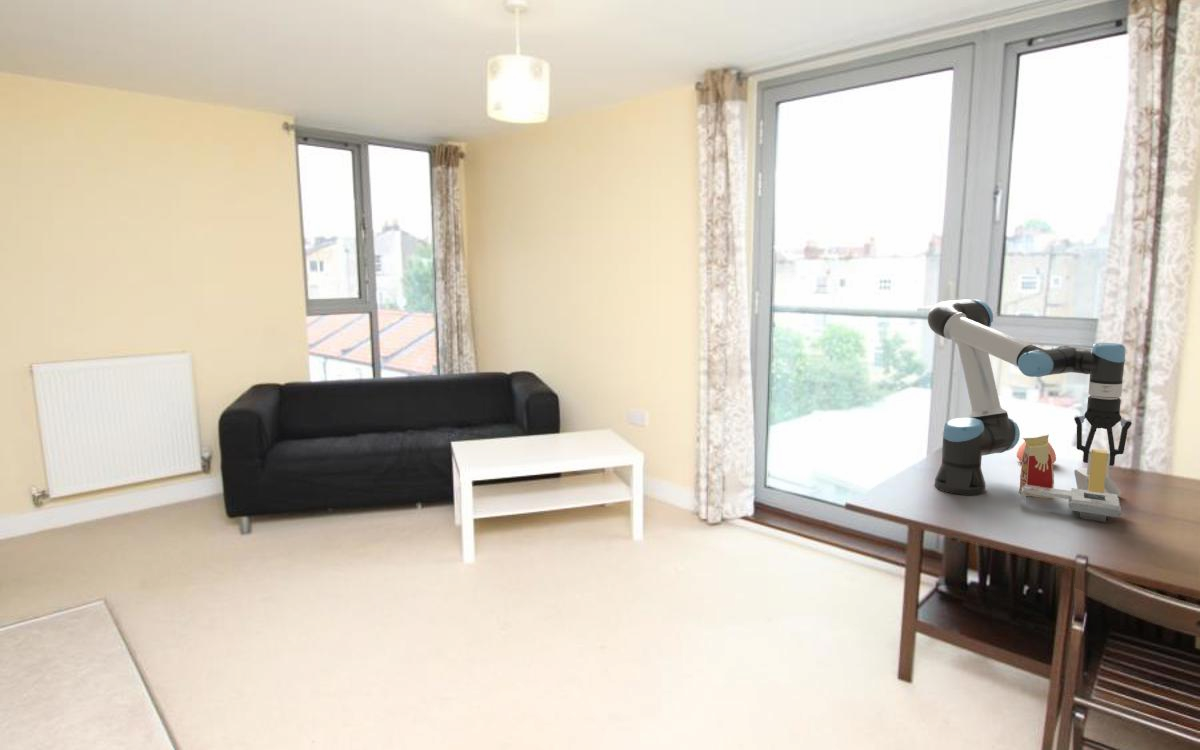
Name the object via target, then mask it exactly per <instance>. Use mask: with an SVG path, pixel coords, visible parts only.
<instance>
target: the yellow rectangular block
mask: <svg viewBox="0 0 1200 750" xmlns="http://www.w3.org/2000/svg"><path fill="white" fill-rule="evenodd" d="M1091 451H1092V458H1091V469H1090V475H1089V487H1088V490H1089V491H1091V492H1098V493H1105V488H1104V483H1105V472H1106V462H1107V453H1108V451H1107V450H1106V449H1105V450H1104V449H1095V448H1092V449H1091Z"/></svg>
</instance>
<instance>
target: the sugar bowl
mask: <svg viewBox="0 0 1200 750" xmlns="http://www.w3.org/2000/svg"><path fill="white" fill-rule="evenodd" d="M1025 446H1026V442H1025V441H1023V442H1022V444H1021V445H1020V446H1019V447H1018V449H1017V452H1016V458H1017V459H1018V461H1019V462H1021V463H1022V459H1023V455H1024V450H1025ZM1048 446H1049V450H1050V453H1051V457H1052V461H1053V464H1054V463H1055V462H1056V461H1057V455H1056V452H1055V449H1054V448H1053V446H1052V445H1051V443H1050V442H1049V441H1048Z"/></svg>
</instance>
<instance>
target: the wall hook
mask: <svg viewBox="0 0 1200 750" xmlns="http://www.w3.org/2000/svg"><path fill="white" fill-rule="evenodd" d="M1073 471H1074V477H1075V482H1076V489H1082V490H1088V487H1089V475H1087V467H1084V468H1083V467H1082V468H1078V469H1076V468H1075V469H1074V470H1073ZM1104 490H1105V491H1106V493H1110V494H1117V497H1118V498H1119V496H1121V495H1122V491H1121V490H1120V488H1119V487H1118V485H1116V483H1115V482H1114V481H1113V480H1112V479H1111V478H1110V476H1109V475H1108V477H1105V483H1104Z"/></svg>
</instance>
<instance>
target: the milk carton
mask: <svg viewBox="0 0 1200 750" xmlns="http://www.w3.org/2000/svg"><path fill="white" fill-rule="evenodd" d="M1049 436H1050V434H1048V433H1047V434H1044V435H1040V436H1034V437H1022V439H1023V440H1024V442H1026V446H1025V450H1024V455H1023V459H1022V462H1021V466H1020V467H1021V468H1020V475H1019V489H1018V492H1019V493H1020V494H1021V490H1022V486H1025V484H1026V485H1033V486H1040V487H1047V488H1054V489H1055V487H1054V486H1055V478H1054V477H1055V476H1054V475H1055V474H1054V463H1053V461H1052V457H1051V453H1050V450H1049V446H1048V442H1049ZM1026 497H1036V498H1043V499H1051V500H1052V499H1053V497H1049V496H1042V495H1035V494H1029V493H1026Z"/></svg>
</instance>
